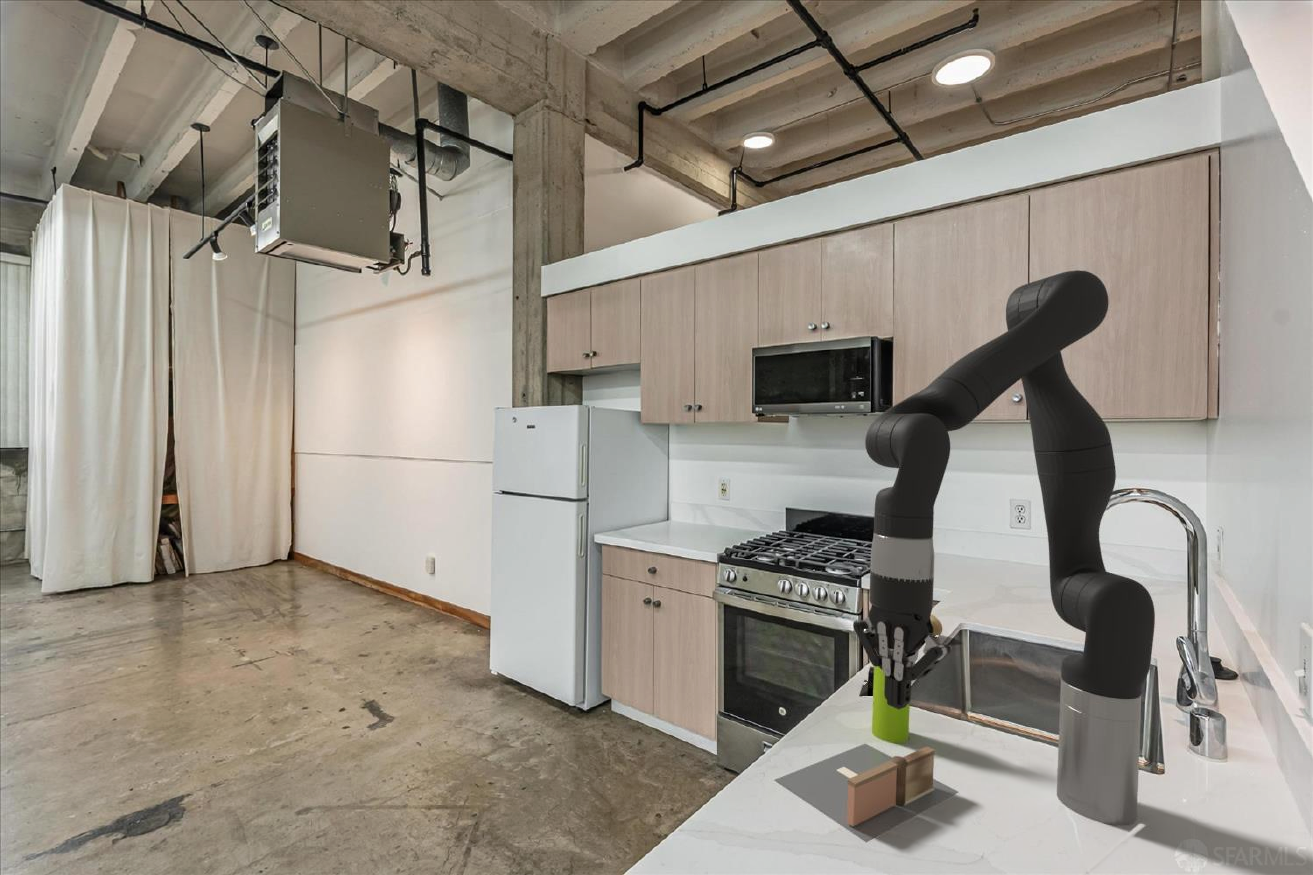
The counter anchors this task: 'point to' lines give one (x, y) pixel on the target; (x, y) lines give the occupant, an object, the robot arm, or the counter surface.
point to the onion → (936, 625)
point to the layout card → (830, 790)
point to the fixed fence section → (914, 774)
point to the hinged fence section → (871, 792)
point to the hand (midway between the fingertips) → (896, 705)
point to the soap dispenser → (888, 714)
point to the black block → (868, 684)
